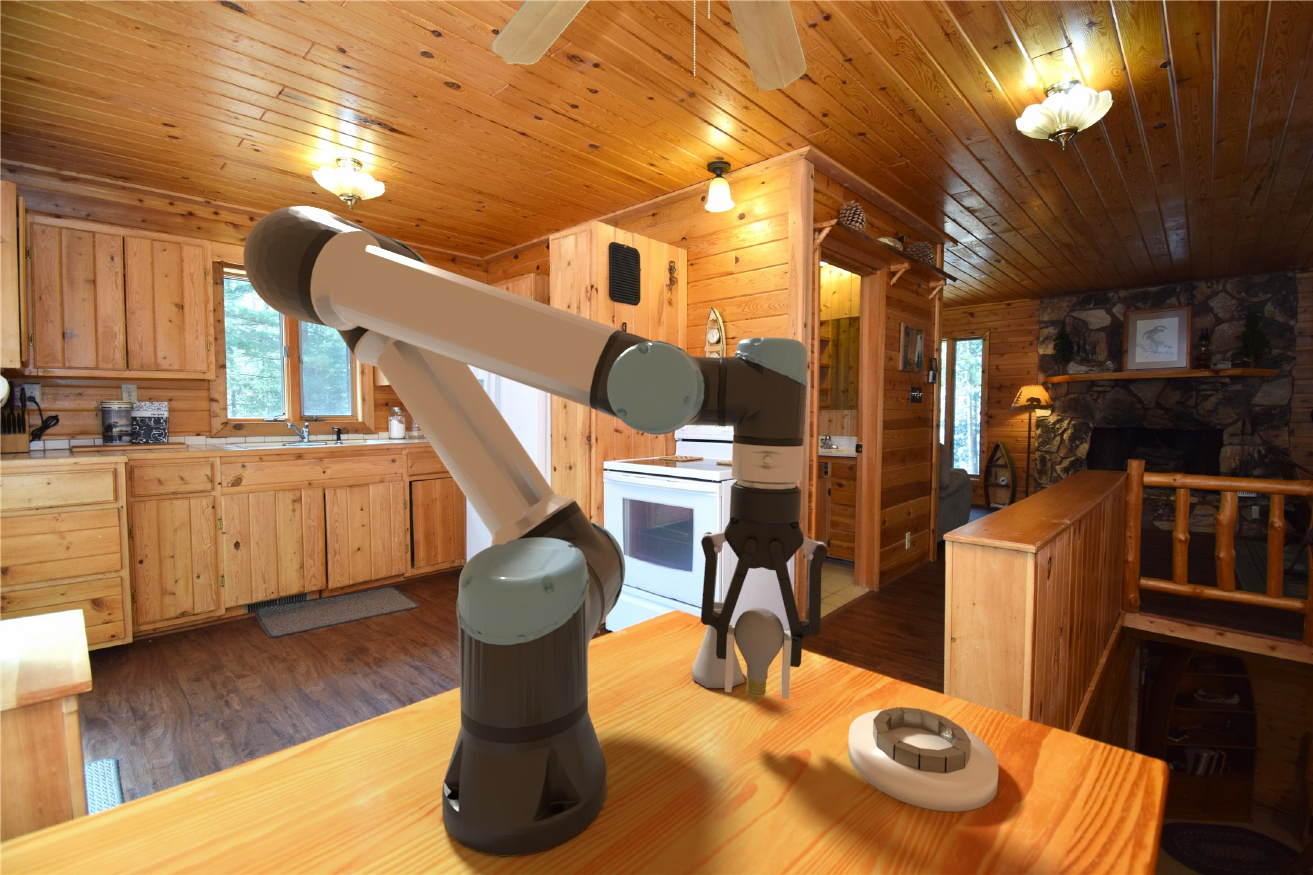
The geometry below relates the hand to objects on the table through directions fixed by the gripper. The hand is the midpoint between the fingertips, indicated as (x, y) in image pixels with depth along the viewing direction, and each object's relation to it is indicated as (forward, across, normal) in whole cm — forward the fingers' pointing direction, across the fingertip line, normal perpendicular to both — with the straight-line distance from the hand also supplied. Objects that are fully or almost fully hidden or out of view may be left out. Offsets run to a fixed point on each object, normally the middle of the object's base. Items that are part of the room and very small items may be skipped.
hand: (756, 688), depth 65 cm
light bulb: (+1, 0, 0) cm, 1 cm away
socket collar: (+3, +17, -2) cm, 17 cm away
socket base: (+5, +17, -2) cm, 18 cm away
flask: (+6, -5, +13) cm, 15 cm away
